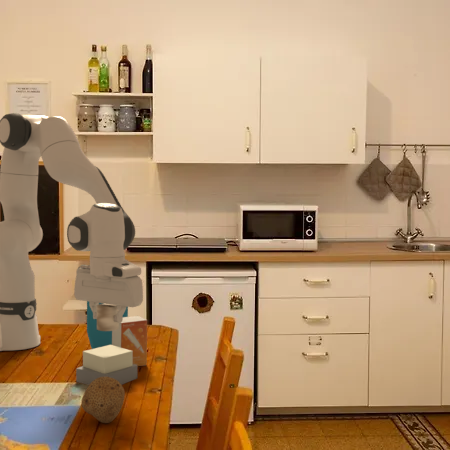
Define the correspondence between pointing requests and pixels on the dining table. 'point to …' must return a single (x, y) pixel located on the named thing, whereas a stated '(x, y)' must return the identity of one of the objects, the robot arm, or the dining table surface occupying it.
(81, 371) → the tower base
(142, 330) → the small box
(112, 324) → the beige rounded cylinder
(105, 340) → the block
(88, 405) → the natural sponge
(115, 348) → the tower top
